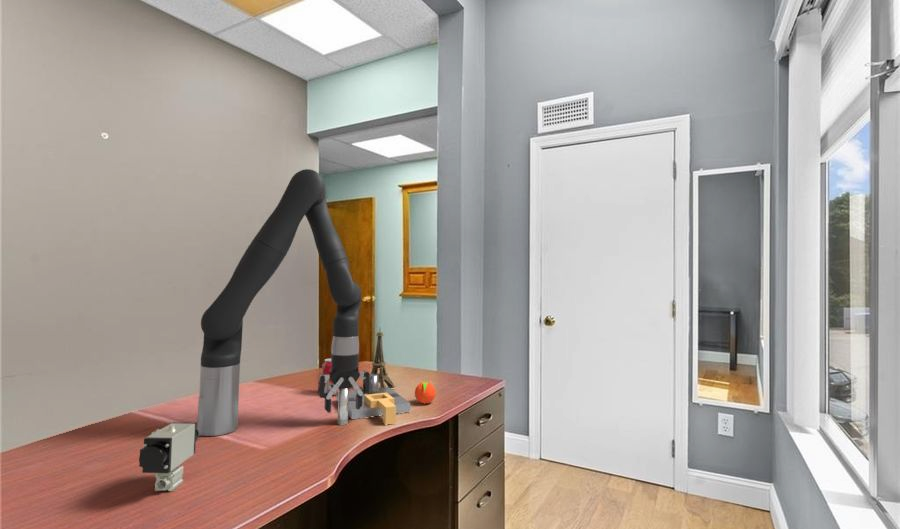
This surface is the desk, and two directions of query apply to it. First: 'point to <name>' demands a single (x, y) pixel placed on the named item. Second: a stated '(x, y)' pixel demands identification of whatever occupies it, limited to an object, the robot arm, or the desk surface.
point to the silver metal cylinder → (343, 406)
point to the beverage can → (326, 371)
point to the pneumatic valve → (168, 453)
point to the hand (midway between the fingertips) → (343, 410)
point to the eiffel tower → (380, 364)
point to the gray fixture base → (366, 411)
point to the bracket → (382, 405)
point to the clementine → (425, 392)
